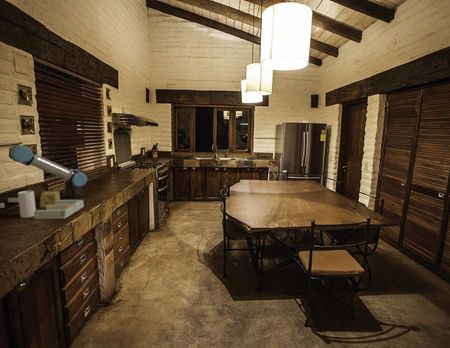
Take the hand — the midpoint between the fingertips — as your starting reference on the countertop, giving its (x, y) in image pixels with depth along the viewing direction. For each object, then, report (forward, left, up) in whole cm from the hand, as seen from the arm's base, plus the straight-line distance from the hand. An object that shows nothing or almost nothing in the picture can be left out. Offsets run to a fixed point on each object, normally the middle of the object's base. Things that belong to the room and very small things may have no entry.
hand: (11, 202), depth 167 cm
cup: (-5, +8, -9) cm, 13 cm away
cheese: (-27, -4, -9) cm, 29 cm away
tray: (-19, +20, -9) cm, 29 cm away
